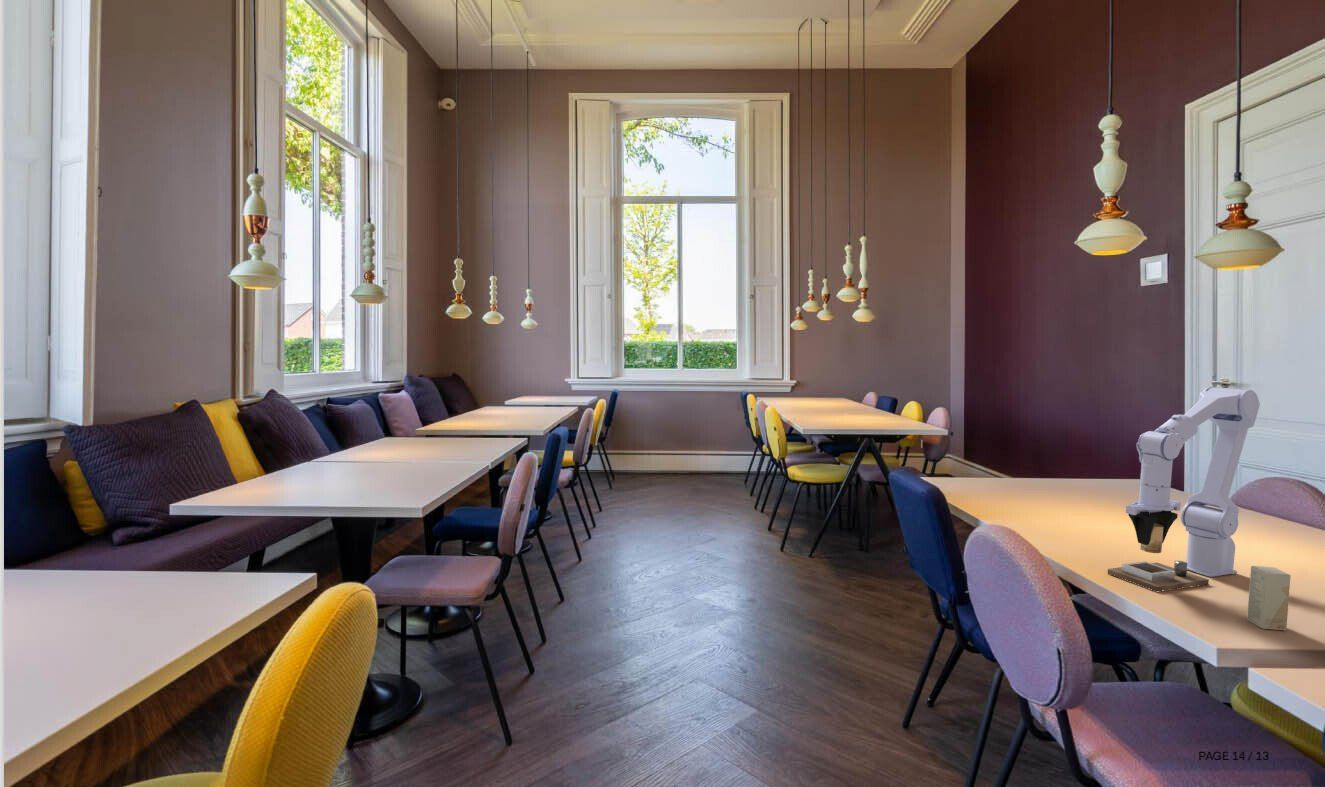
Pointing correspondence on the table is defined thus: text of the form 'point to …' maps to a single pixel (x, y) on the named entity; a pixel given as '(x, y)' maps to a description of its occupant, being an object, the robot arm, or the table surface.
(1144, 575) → the fitting board
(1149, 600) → the table surface
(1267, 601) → the box
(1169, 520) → the robot arm
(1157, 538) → the cylinder
